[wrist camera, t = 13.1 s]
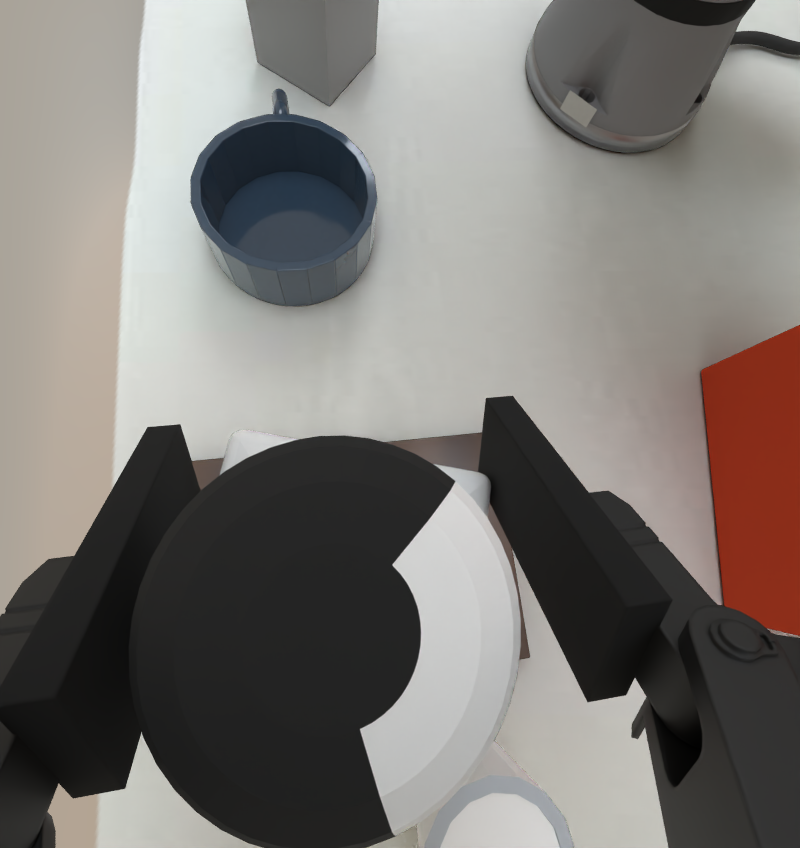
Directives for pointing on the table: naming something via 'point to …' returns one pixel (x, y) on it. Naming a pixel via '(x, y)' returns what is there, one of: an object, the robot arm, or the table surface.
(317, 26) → the perfume bottle
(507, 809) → the white short cylinder
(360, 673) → the medicine bottle
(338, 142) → the mug
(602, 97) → the robot arm
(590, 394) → the table surface
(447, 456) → the board
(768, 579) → the file binder
